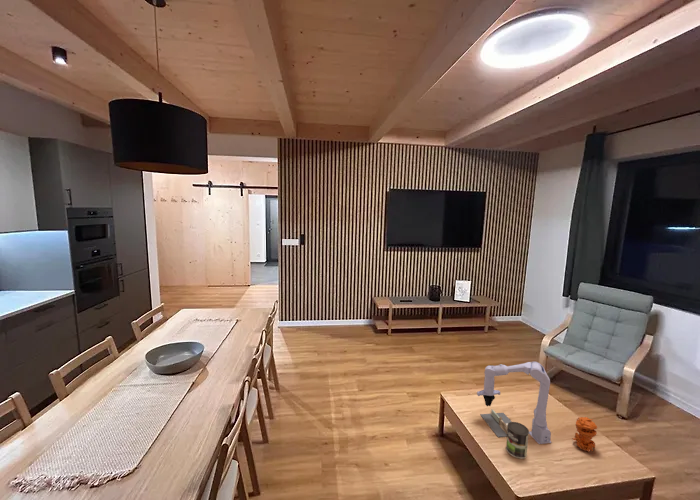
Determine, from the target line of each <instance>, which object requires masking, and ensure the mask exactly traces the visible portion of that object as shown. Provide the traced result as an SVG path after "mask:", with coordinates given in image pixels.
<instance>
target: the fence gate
mask: <svg viewBox="0 0 700 500" xmlns="http://www.w3.org/2000/svg"><path fill="white" fill-rule="evenodd" d="M490 413H491V415H492V416H493V417H494V419H495V420H496V421H497V422H498V423H499V416H498V415H497V414H496V413H497V412H496V411H495V410H494V409H493V408H492V409H491V410H490Z"/></svg>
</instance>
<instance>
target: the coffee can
mask: <svg viewBox="0 0 700 500" xmlns="http://www.w3.org/2000/svg"><path fill="white" fill-rule="evenodd" d="M529 432H530V430H529V428H528V427H527V426H525V425H524V424H522V423H520V422H517V421H512V422H510V423H508V431H507V437H506V446H505V449H506V452H507V453H508V454H509V455H511V456H512V457H513V458H516V459H521V460H522V459H526V458H527V456H528V443H529V435H530V434H529Z"/></svg>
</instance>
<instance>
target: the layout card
mask: <svg viewBox="0 0 700 500" xmlns="http://www.w3.org/2000/svg"><path fill="white" fill-rule="evenodd" d="M496 414H497V415H498V416H499V417H502V420H503V422H504V423H505V424H506V425H507V426H508V423H510V422H513V421H512V420H511V419H510V418H509V417H508V416H507V415H506V413H504V412H496ZM480 417H481V418H482V419H483V421H484V422H485V423H486V424H487V426H488V427H489V428H490V429H491V431H492V432H493V433H494V434H495V436H496V437H497V438H507V433H506V432H505V431H504V430H503V428H502V427H501V426H500V425H499V423H498V422H497V421H496V420H495V419H494V417H493V416H492V415H491V412H490V413H480Z"/></svg>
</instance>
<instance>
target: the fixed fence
mask: <svg viewBox="0 0 700 500" xmlns="http://www.w3.org/2000/svg"><path fill="white" fill-rule="evenodd" d="M499 425H500V426H501V427H502V428H503V430H504V431H505V432H506V433H507V431H508V426H507V425H506V424H505V423H504V422H503V420H502V417H499Z"/></svg>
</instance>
